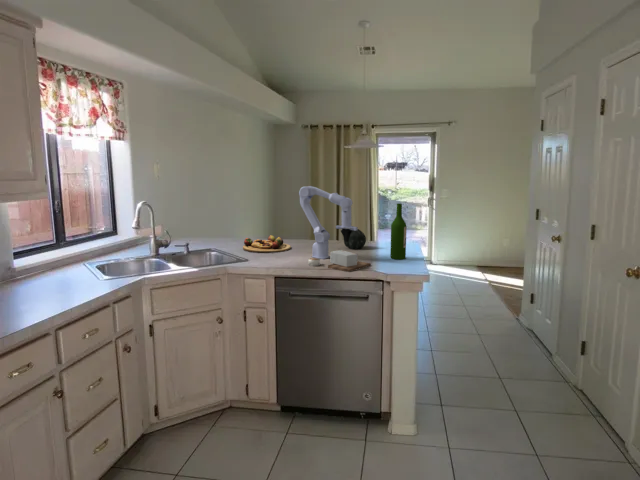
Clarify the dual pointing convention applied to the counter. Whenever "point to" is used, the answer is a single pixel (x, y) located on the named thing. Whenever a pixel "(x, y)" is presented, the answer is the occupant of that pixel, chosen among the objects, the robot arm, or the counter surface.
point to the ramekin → (313, 261)
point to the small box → (343, 258)
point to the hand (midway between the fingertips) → (346, 241)
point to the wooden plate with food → (266, 245)
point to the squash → (356, 240)
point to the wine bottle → (398, 236)
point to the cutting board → (351, 268)
